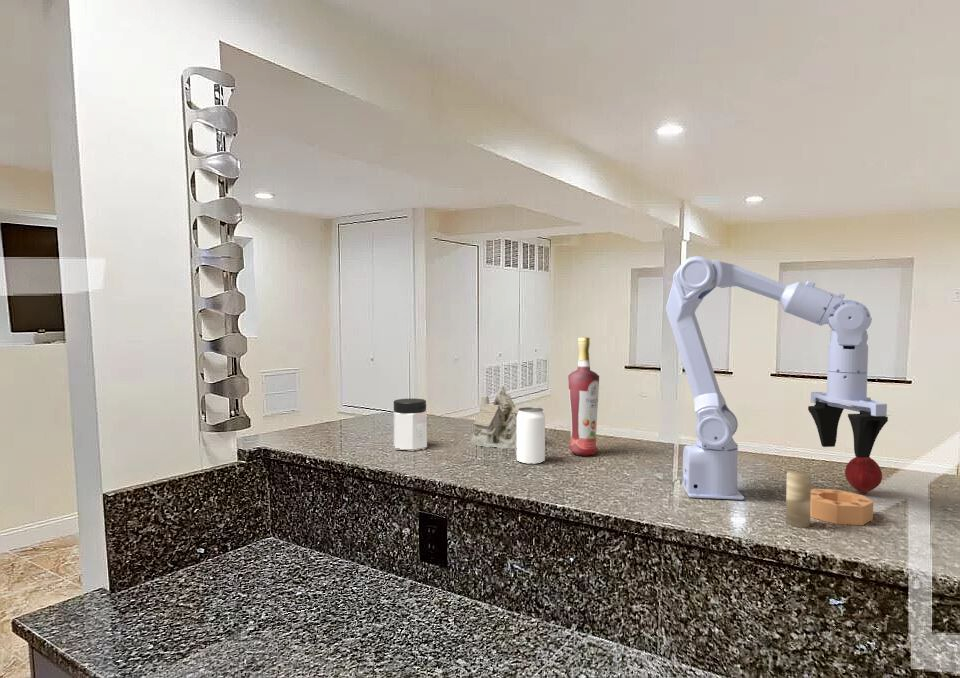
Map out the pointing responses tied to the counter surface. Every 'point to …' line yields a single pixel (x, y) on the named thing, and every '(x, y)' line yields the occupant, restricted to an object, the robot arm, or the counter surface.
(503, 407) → the ceramic cottage
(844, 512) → the orange faceted ring
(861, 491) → the onion
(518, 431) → the can
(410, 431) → the jar
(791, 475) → the dowel
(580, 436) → the liquor
